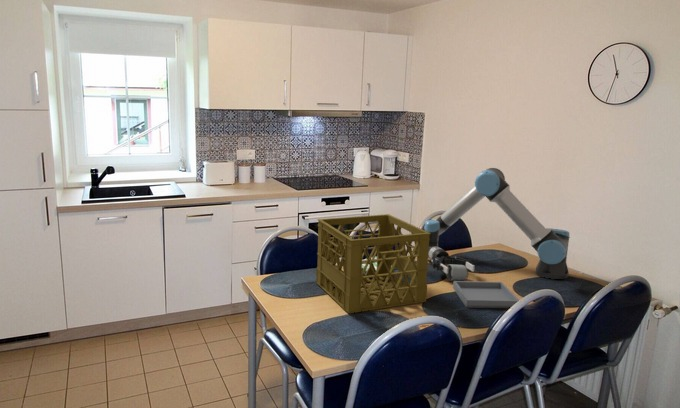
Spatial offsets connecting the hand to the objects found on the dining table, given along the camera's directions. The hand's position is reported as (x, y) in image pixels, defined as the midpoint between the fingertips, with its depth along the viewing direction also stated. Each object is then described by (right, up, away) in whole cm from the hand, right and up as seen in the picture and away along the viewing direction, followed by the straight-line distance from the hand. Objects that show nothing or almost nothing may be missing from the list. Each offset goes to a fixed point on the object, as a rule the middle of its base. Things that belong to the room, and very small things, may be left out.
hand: (460, 269), depth 235 cm
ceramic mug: (-1, -5, +6) cm, 8 cm away
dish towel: (-37, -1, +23) cm, 43 cm away
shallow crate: (+7, -10, -16) cm, 20 cm away
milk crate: (-43, -8, -15) cm, 46 cm away
